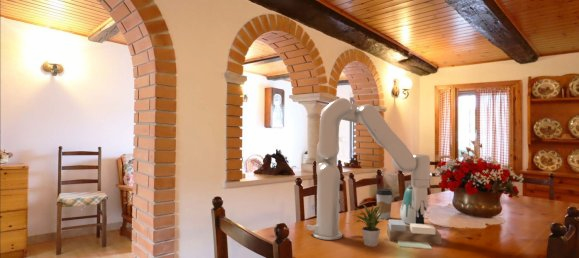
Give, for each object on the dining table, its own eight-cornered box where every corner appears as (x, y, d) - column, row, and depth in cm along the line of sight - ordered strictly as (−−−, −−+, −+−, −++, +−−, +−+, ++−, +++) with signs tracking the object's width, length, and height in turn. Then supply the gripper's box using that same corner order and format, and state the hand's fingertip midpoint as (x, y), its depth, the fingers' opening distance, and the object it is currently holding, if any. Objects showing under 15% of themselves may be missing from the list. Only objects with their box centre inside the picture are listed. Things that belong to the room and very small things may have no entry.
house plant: (363, 236, 150) (364, 198, 150) (394, 242, 141) (394, 202, 141) (346, 243, 139) (347, 203, 139) (379, 251, 130) (379, 208, 130)
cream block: (412, 233, 141) (412, 226, 141) (409, 229, 147) (409, 223, 147) (435, 234, 140) (435, 228, 140) (431, 230, 146) (432, 224, 146)
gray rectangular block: (405, 231, 144) (405, 225, 144) (390, 230, 145) (391, 224, 145) (402, 225, 152) (402, 220, 152) (388, 224, 154) (388, 219, 154)
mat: (399, 246, 136) (399, 245, 136) (397, 241, 143) (397, 240, 143) (431, 249, 134) (431, 248, 134) (428, 243, 140) (428, 242, 140)
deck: (389, 241, 143) (390, 231, 143) (387, 232, 155) (387, 224, 155) (441, 244, 140) (441, 234, 140) (434, 236, 151) (434, 227, 151)
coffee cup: (393, 217, 185) (394, 189, 185) (389, 220, 178) (389, 191, 178) (378, 215, 189) (379, 187, 189) (373, 218, 182) (374, 189, 182)
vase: (420, 227, 165) (420, 190, 165) (396, 223, 172) (396, 187, 172) (427, 223, 174) (427, 187, 174) (404, 219, 181) (404, 185, 181)
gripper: (408, 180, 156) (407, 221, 156) (414, 185, 142) (413, 230, 141) (425, 181, 155) (425, 222, 155) (433, 185, 140) (433, 231, 140)
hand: (419, 225), depth 148 cm, fingers closed
